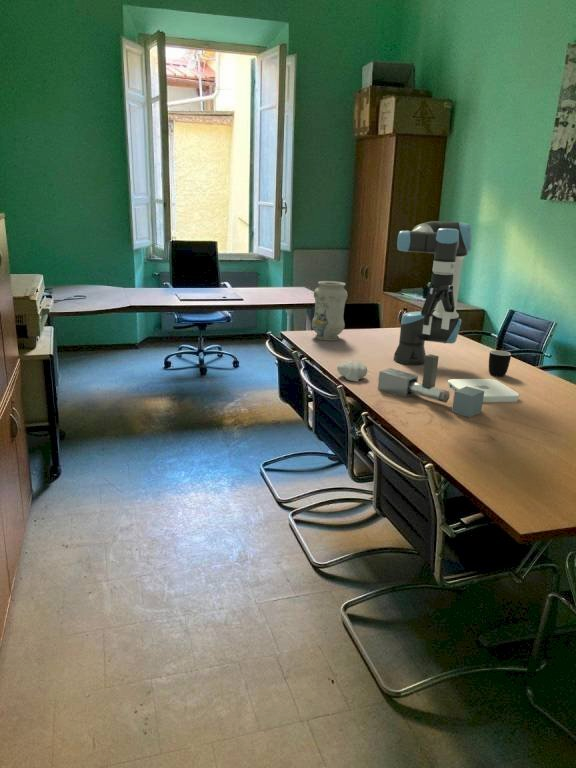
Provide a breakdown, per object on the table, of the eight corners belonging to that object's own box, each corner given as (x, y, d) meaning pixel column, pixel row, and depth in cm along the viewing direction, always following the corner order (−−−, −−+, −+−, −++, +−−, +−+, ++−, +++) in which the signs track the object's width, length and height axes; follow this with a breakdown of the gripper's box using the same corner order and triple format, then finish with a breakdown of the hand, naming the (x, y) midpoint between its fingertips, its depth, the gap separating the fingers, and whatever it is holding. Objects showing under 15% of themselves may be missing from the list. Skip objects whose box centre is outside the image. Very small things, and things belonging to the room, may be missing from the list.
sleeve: (377, 389, 230) (379, 371, 227) (388, 385, 235) (390, 368, 233) (405, 397, 221) (407, 379, 219) (416, 393, 227) (418, 375, 224)
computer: (521, 402, 223) (522, 395, 222) (468, 403, 219) (469, 396, 218) (493, 384, 244) (494, 378, 243) (444, 385, 240) (445, 379, 239)
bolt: (384, 386, 229) (388, 347, 224) (390, 384, 232) (394, 345, 227) (443, 403, 212) (448, 361, 207) (448, 401, 215) (454, 359, 210)
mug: (510, 378, 252) (513, 356, 249) (489, 376, 253) (492, 354, 250) (502, 370, 263) (506, 349, 260) (482, 369, 264) (486, 347, 261)
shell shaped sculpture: (345, 371, 252) (347, 357, 250) (371, 377, 245) (372, 362, 243) (330, 377, 242) (331, 363, 240) (356, 384, 235) (358, 369, 233)
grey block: (451, 412, 208) (454, 391, 206) (463, 406, 214) (466, 386, 212) (469, 417, 204) (473, 396, 201) (481, 411, 210) (484, 390, 207)
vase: (327, 332, 322) (330, 279, 313) (351, 339, 310) (355, 283, 301) (304, 336, 311) (307, 281, 301) (328, 343, 298) (331, 285, 289)
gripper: (434, 276, 194) (427, 338, 200) (468, 272, 211) (461, 328, 218) (415, 274, 198) (408, 334, 205) (450, 270, 216) (443, 325, 222)
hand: (435, 331), depth 211 cm, fingers open, 13 cm apart
